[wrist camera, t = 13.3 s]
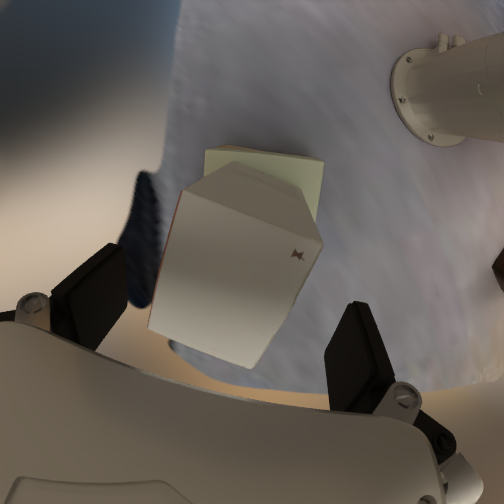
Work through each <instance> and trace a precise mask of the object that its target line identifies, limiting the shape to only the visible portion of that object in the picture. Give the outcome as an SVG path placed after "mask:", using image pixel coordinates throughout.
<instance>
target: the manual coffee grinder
mask: <svg viewBox="0 0 504 504" xmlns="http://www.w3.org/2000/svg"><path fill="white" fill-rule="evenodd" d="M493 270H494V274H495V276H496V278H497V280H498V283H499V285H500V287H501V289H502V290H503V292H504V250H503V251H502V253H501V254H500V256H499V257H498V259H497V260H496V262H495V264H494V265H493Z"/></svg>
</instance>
